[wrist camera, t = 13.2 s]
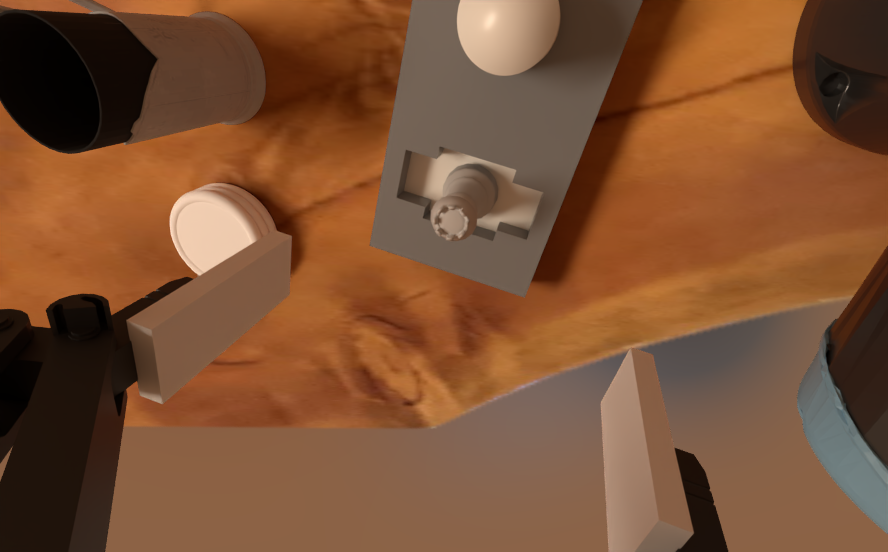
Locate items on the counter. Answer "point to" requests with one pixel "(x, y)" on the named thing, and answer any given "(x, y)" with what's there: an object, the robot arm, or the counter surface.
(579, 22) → the grey panel with recess
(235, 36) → the glass holder
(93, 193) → the counter surface
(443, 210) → the rook chess piece
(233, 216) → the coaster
